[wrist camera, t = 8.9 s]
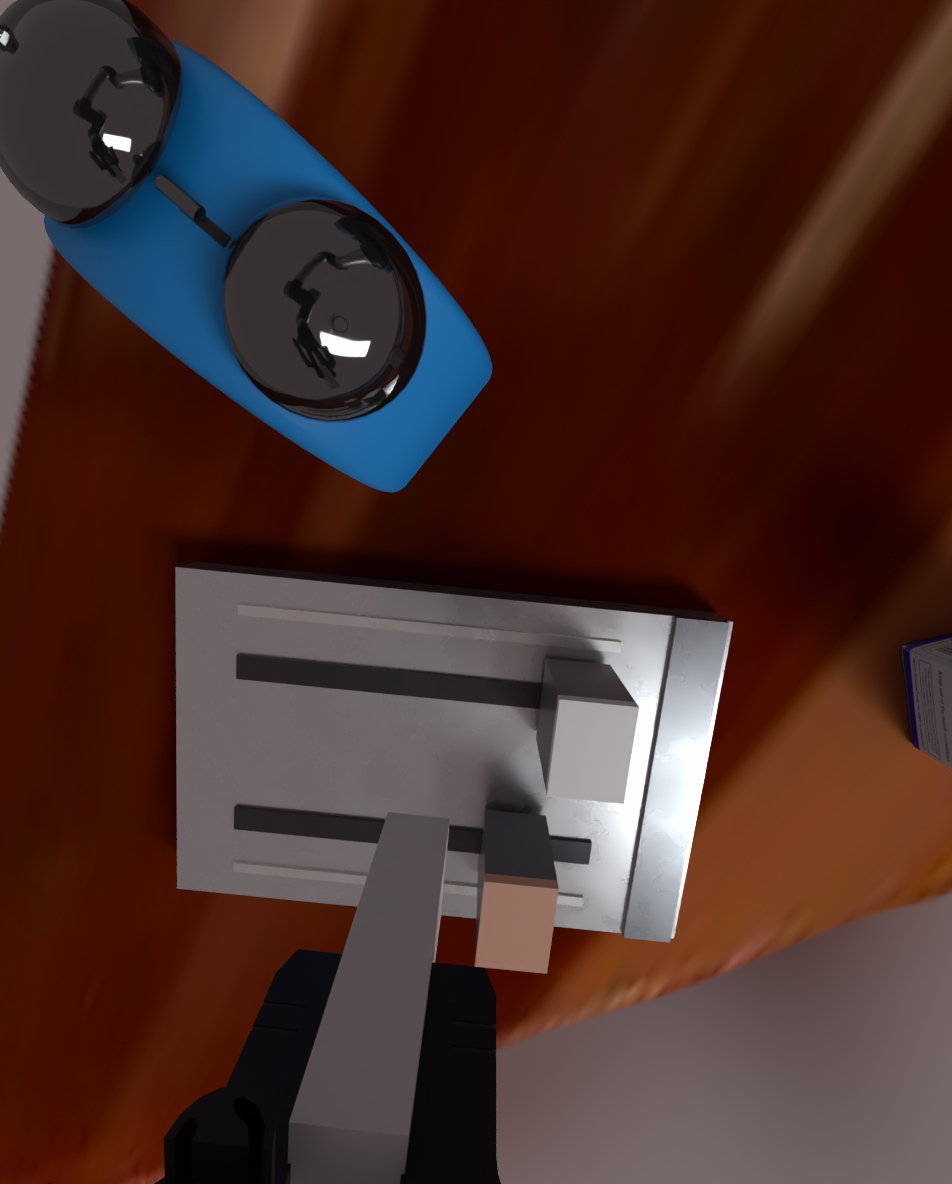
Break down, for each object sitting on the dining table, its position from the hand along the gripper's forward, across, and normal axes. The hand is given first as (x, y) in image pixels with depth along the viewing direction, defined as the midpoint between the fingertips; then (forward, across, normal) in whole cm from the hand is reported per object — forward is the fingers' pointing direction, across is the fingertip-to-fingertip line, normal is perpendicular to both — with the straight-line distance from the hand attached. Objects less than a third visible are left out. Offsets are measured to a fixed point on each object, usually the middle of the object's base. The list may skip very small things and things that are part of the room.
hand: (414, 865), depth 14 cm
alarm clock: (+16, -6, +14) cm, 22 cm away
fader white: (+13, +6, -1) cm, 14 cm away
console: (+15, 0, -5) cm, 16 cm away
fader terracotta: (+13, +4, -9) cm, 16 cm away
